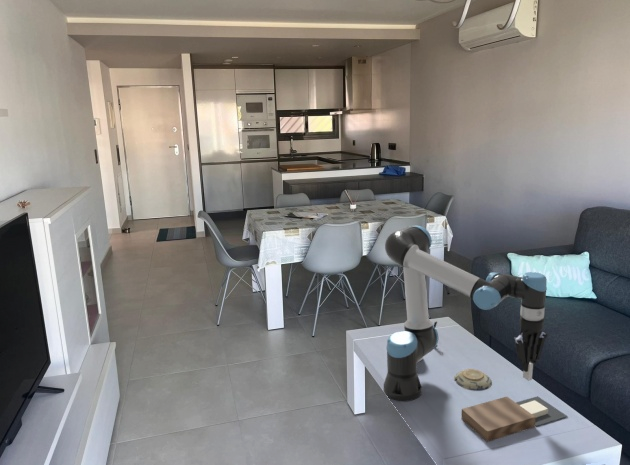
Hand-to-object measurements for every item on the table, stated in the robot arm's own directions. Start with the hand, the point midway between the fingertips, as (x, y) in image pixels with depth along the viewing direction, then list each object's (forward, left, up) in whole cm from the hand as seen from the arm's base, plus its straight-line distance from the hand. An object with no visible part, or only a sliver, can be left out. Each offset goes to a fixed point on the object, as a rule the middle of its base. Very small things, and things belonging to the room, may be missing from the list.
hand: (527, 378), depth 171 cm
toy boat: (0, +65, -14) cm, 66 cm away
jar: (-15, +54, -14) cm, 57 cm away
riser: (-13, 0, -14) cm, 19 cm away
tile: (+2, -1, -14) cm, 14 cm away
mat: (+5, 0, -14) cm, 15 cm away
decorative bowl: (-3, +27, -15) cm, 31 cm away
